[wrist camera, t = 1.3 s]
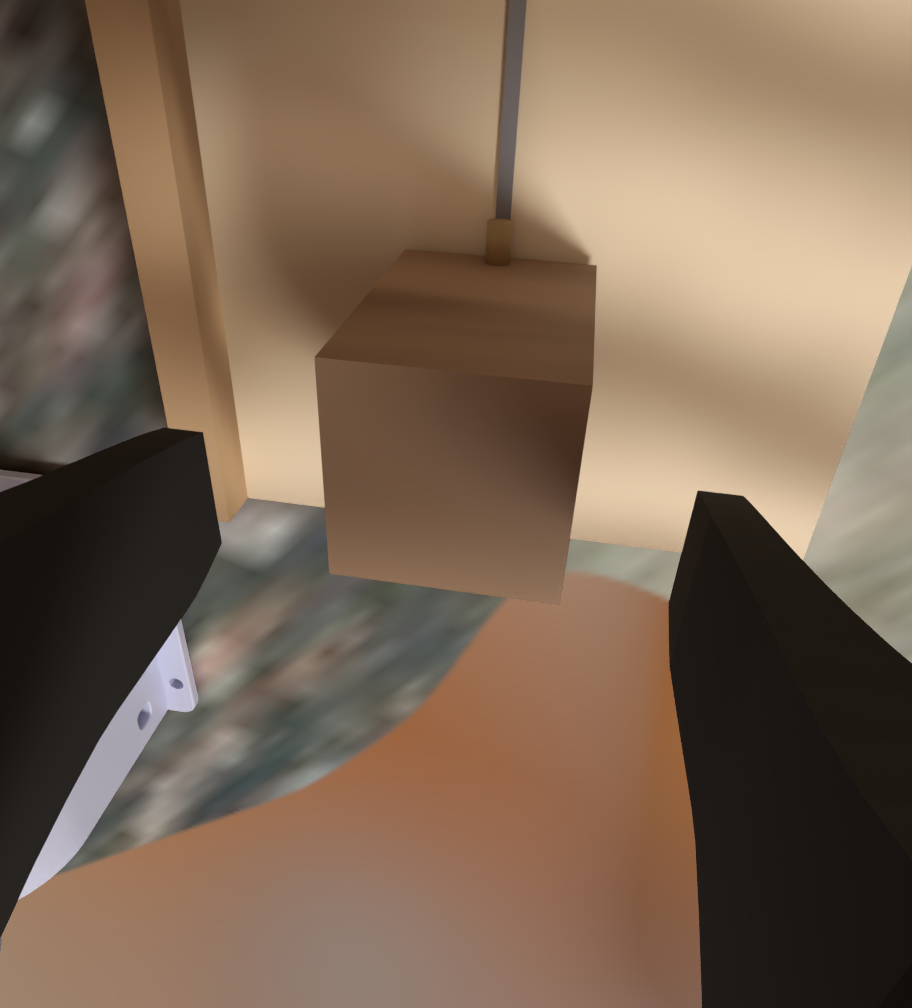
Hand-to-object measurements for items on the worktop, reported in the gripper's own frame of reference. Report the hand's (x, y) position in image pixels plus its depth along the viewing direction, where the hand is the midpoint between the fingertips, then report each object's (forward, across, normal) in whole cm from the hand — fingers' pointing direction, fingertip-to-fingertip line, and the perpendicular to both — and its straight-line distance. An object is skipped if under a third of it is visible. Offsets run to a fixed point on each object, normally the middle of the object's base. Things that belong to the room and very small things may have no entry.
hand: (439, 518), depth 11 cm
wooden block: (+7, 0, 0) cm, 7 cm away
